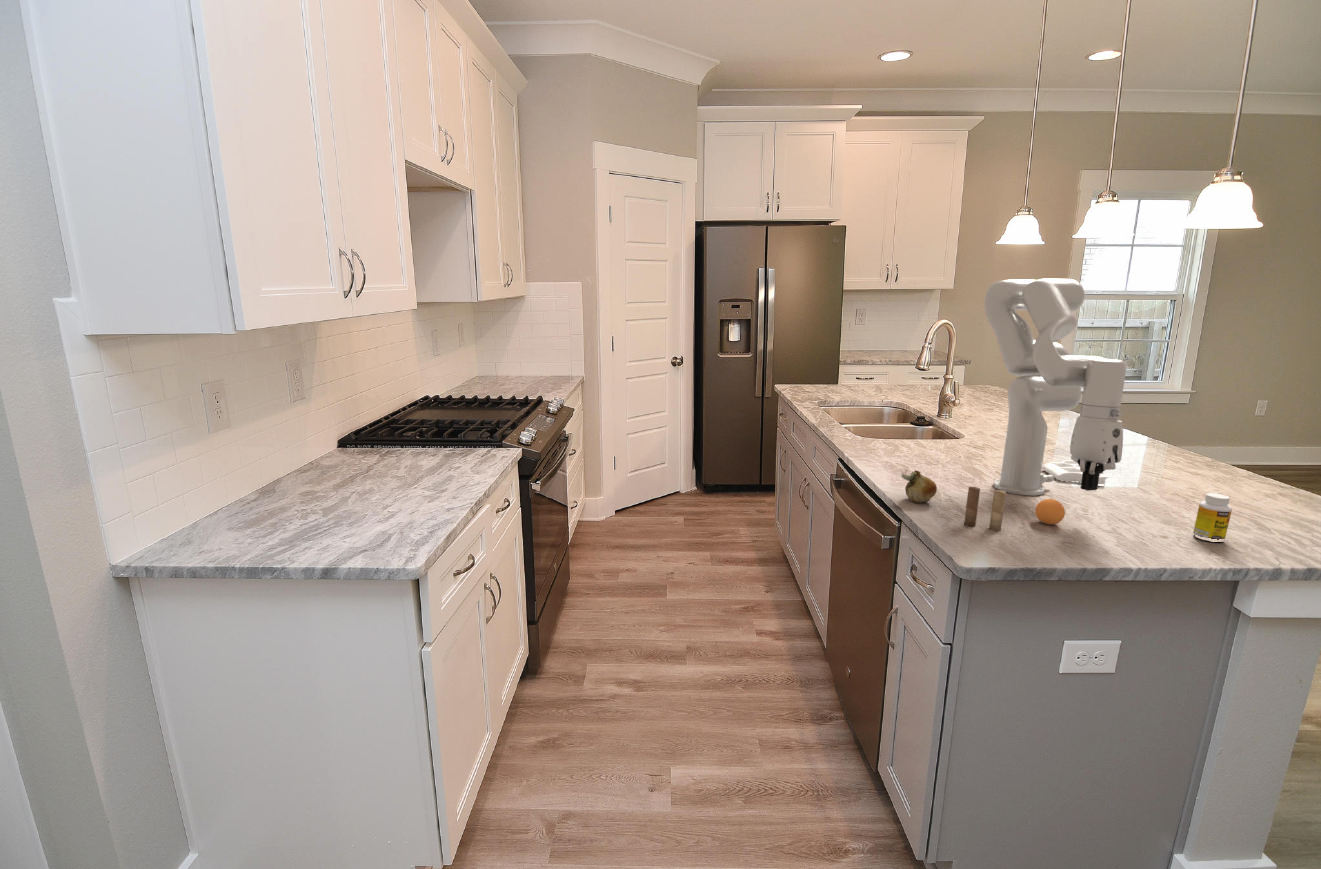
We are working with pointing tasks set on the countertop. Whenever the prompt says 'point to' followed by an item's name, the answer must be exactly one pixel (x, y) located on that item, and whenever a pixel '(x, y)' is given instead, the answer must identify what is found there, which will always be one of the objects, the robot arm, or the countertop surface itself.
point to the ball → (1050, 511)
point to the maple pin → (997, 510)
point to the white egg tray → (1068, 471)
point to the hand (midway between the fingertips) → (1088, 489)
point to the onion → (919, 487)
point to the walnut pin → (972, 506)
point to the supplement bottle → (1213, 517)
